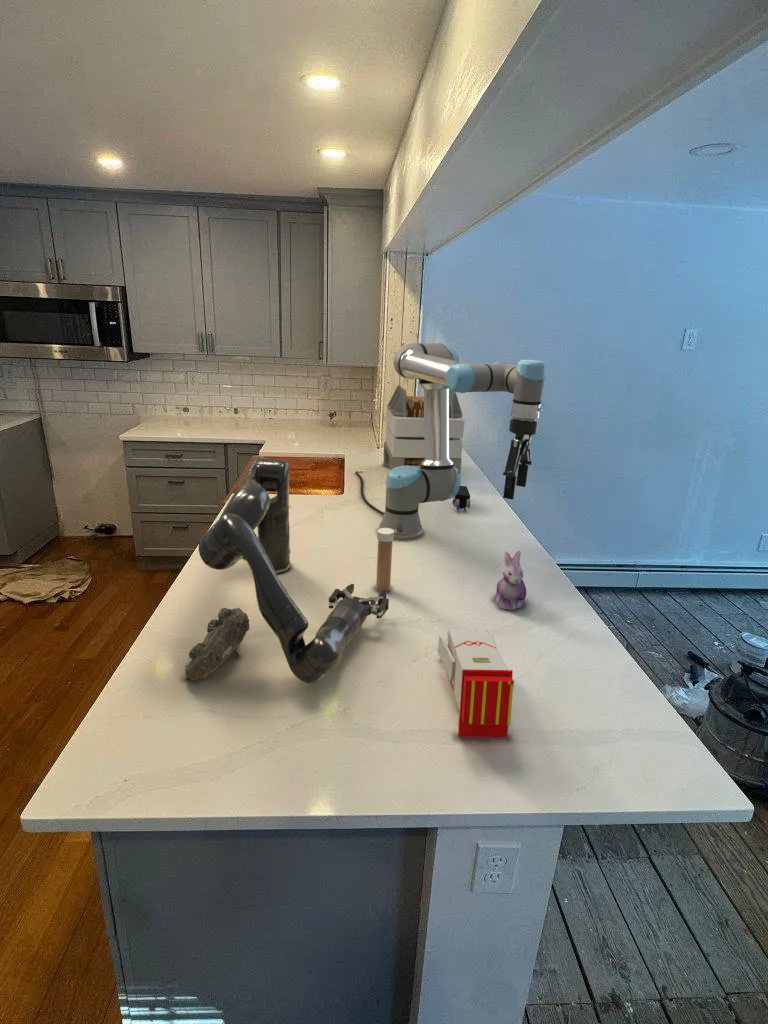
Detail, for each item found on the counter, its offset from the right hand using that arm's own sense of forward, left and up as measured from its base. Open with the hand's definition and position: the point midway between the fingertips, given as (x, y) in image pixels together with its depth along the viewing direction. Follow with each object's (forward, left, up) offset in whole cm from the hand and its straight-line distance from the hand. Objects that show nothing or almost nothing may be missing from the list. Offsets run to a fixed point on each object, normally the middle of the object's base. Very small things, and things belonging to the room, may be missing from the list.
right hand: (514, 492), depth 163 cm
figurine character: (-50, +35, -27) cm, 67 cm away
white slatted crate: (-96, +57, -27) cm, 115 cm away
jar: (-15, -35, -27) cm, 47 cm away
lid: (-15, -35, -9) cm, 40 cm away
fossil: (-12, -86, -27) cm, 90 cm away
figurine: (+12, -13, -27) cm, 32 cm away
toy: (+31, -51, -27) cm, 65 cm away
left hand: (-8, -47, -21) cm, 52 cm away
